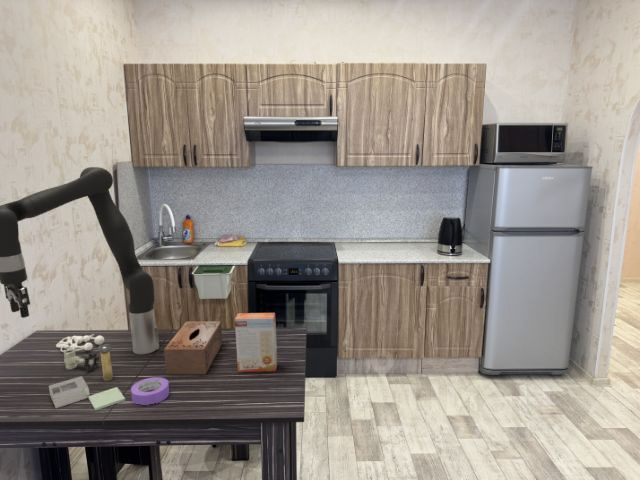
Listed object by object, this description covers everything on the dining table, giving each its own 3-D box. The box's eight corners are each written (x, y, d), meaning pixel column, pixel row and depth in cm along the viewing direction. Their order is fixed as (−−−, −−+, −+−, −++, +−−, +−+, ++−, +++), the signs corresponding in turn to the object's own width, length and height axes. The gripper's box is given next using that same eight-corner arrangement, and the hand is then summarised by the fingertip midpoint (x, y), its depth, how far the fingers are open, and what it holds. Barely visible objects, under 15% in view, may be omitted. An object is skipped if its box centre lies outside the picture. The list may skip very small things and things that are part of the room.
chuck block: (83, 385, 157) (81, 374, 156) (89, 397, 150) (88, 386, 149) (50, 395, 151) (48, 384, 150) (55, 408, 144) (53, 396, 143)
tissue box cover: (205, 374, 164) (203, 349, 162) (166, 374, 164) (163, 349, 162) (222, 343, 189) (221, 321, 187) (188, 343, 189) (186, 321, 187)
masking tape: (134, 390, 154) (132, 379, 154) (170, 384, 157) (169, 374, 157) (130, 408, 143) (128, 398, 143) (168, 402, 146) (167, 392, 146)
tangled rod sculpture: (45, 353, 185) (43, 344, 184) (75, 336, 198) (73, 328, 197) (80, 359, 178) (78, 350, 177) (109, 341, 191) (107, 333, 190)
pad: (117, 389, 155) (117, 386, 154) (125, 400, 148) (124, 398, 148) (88, 398, 149) (88, 396, 149) (95, 410, 142) (95, 408, 142)
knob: (112, 374, 164) (108, 342, 162) (115, 379, 161) (111, 346, 159) (100, 378, 162) (96, 346, 159) (103, 382, 159) (99, 349, 156)
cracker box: (277, 364, 170) (275, 311, 166) (275, 372, 164) (273, 318, 160) (240, 364, 171) (237, 312, 166) (237, 372, 165) (234, 318, 160)
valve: (60, 370, 168) (87, 374, 165) (57, 354, 166) (84, 358, 163) (73, 362, 174) (100, 366, 171) (71, 346, 173) (97, 350, 170)
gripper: (32, 268, 147) (41, 315, 150) (16, 262, 155) (24, 306, 159) (6, 274, 141) (15, 322, 145) (-10, 267, 150) (0, 313, 153)
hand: (20, 314), depth 152 cm, fingers open, 8 cm apart
